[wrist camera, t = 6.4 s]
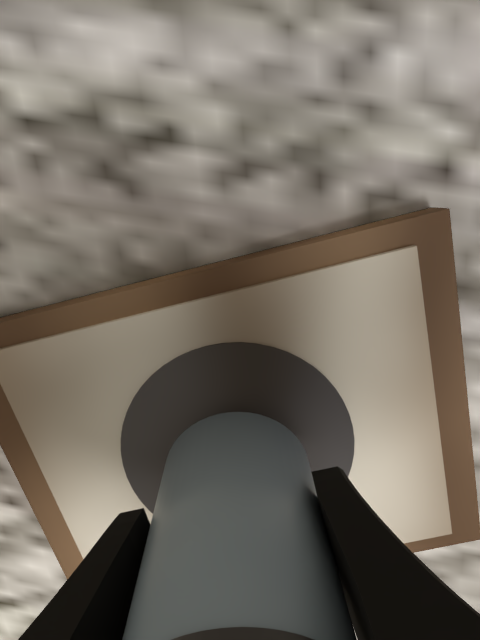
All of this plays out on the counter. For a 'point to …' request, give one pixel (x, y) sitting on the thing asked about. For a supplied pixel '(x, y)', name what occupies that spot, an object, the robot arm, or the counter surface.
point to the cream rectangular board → (252, 380)
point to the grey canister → (238, 541)
